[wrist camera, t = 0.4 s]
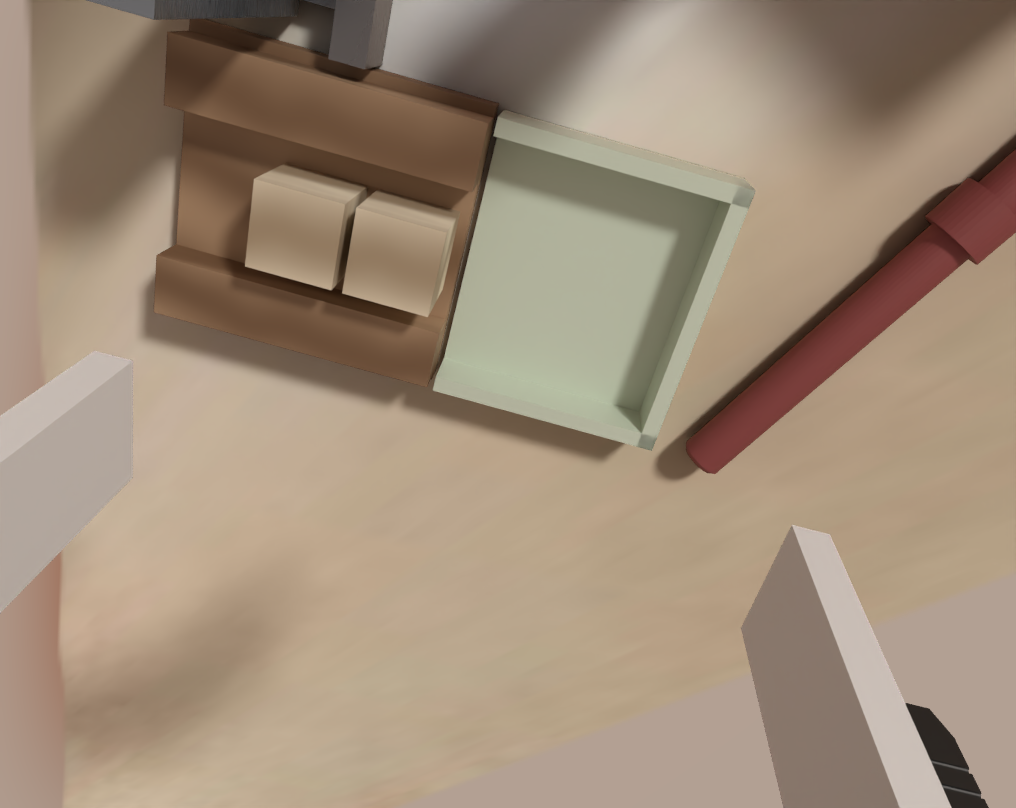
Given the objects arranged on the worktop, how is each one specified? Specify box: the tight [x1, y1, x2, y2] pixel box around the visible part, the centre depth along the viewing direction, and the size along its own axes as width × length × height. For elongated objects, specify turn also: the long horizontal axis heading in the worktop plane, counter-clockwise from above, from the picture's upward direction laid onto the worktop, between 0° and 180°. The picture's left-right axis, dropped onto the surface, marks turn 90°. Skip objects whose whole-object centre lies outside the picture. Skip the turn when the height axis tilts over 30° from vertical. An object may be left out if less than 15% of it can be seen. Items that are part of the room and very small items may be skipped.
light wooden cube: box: [342, 189, 460, 317], centre depth 36 cm, size 4×4×4 cm
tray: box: [433, 110, 755, 451], centre depth 38 cm, size 14×12×3 cm
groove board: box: [154, 19, 499, 387], centre depth 38 cm, size 14×14×3 cm
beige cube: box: [245, 163, 369, 290], centre depth 36 cm, size 4×4×4 cm
